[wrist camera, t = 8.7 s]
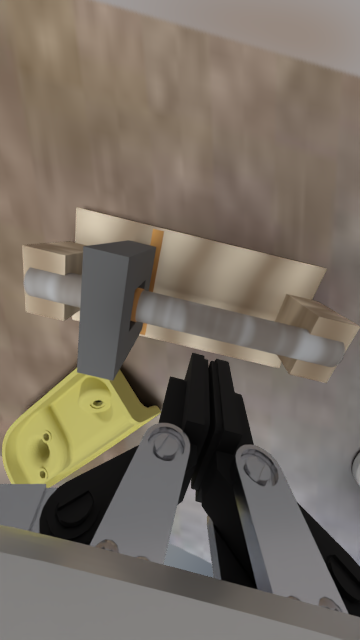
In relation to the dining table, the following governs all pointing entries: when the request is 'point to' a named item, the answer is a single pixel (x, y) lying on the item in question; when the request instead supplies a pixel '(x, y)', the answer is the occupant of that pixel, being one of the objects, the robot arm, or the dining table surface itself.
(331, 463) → the dining table surface
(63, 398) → the plastic component
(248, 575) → the robot arm
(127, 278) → the collar
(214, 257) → the pipe stand
